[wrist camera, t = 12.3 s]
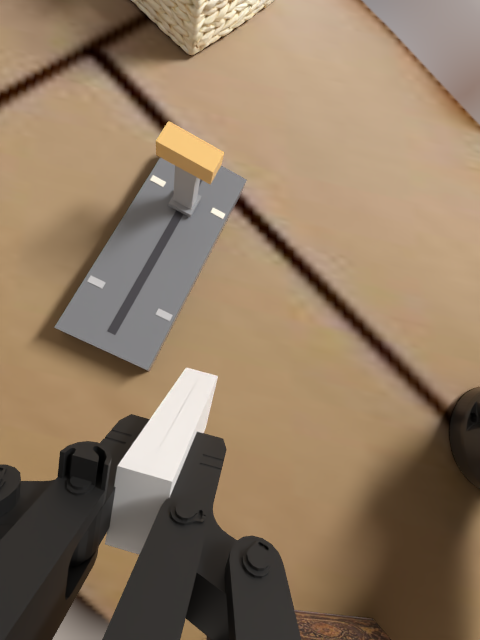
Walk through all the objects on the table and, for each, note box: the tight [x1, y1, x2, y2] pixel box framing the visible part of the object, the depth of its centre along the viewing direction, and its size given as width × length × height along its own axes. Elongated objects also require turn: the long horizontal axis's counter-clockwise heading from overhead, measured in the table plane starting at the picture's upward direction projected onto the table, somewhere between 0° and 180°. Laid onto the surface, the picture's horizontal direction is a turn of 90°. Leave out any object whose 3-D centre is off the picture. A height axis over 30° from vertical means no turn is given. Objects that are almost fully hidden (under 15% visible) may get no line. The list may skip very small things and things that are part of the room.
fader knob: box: [156, 121, 224, 217], centre depth 36 cm, size 3×6×10 cm, turn 66°
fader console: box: [54, 157, 247, 371], centre depth 41 cm, size 28×11×3 cm, turn 156°
